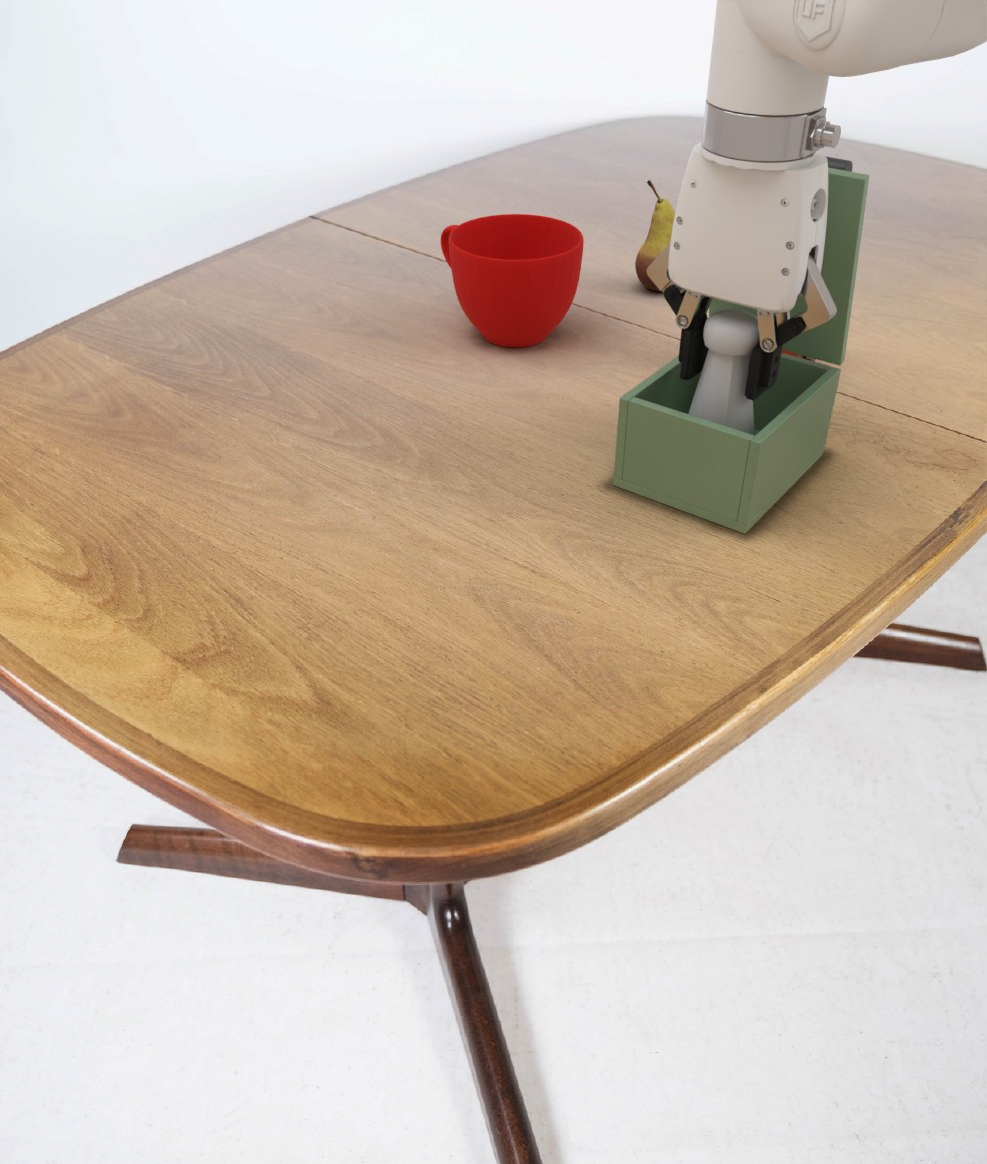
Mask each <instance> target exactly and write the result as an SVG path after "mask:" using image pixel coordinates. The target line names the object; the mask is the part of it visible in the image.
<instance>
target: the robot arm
mask: <svg viewBox="0 0 987 1164" xmlns="http://www.w3.org/2000/svg"><path fill="white" fill-rule="evenodd" d="M711 43H712V44H711V52H710V61H709V71H708V80H707V89H706V99H705V106H704V115H703V124H702V134H701V141H700V142H699V143H697V144H695V145H694V146H693V147H692V150H691V153H690V155H689V158H688V162H687V165H686V168H685V172H684V175H683V178H682V182H681V186H680V189H679V194H678V196H677V197H678V198H677V203H676V208H675V210H674V212H675V217H674V222H673V228H672V235H671V242H670V244H669V245H668V246H667V247H666V248H665V249H664V250H663V252H662V253H661V254H660V255H659V256H658V257H657V258H656V259H655V260H654V261H653V262H652V263H651V264H650V265H649V267H648V268H647V275H648V277H649V278H650V279H651V280H652V281H653V283H654V284H655V285H656V286H657V287H658V289H659V290H660V291H659V292H662V293H663V298H664V299H665V302H666V303H667V305H669V307H670V308H671V310H672V312H673V313H674V315H675V324H676V325H677V327H678V328H679V329H680V330H681V331H680V341H679V349H678V355H679V357H678V360H679V362H681V363H682V364H681V372H680V378H681V379H684V380H689V379H692V378H693V377H694V376H696V375H697V374H698V373H699V372H701V371H702V369H703V366H704V363H705V360H706V356H707V353H708V350H709V348H708V347H706V346H705V342H704V338H703V331H704V326H705V322H706V320H707V319H708V318H709V317H708V314H707V313H708V312H709V306H710V304H711V301H712V299H713V298H715V299H719V300H722V301H726V302H730V303H734V304H738V305H742V306H746V307H750V308H754V309H757V319H758V329H759V345H758V346H757V347H756V348H754V349H753V350H752V352H751V357H750V363H749V370H748V376H747V383H746V389H745V396H746V398H747V399H749V400H753V401H754V400H755V399H756V398H758V397H759V396H760V395H761V394H762V393H763V392H765V391H766V390H767V389H768V388H769V389H770V388H771V387H772V386H773V385H774V384H775V382H776V380H777V376H778V370H779V365H780V359H781V353H782V347H783V344H785V343H786V342H788V341H789V340H791V339H793V338H794V337H796V336H798V335H799V334H800V333H802V332H804V331H807V330H810V329H812V328H814V327H817V326H819V325H821V324H824V323H826V322H827V321H829V320H830V319H831V318H832V317H834V316H835V315H836V313H837V308H836V305H835V303H834V301H833V299H832V297H831V295H830V293H829V291H828V289H827V287H826V284H825V282H824V280H823V278H822V276H821V269H822V262H823V254H824V245H825V236H826V225H827V210H828V160H827V158H826V157H825V156H826V155H824V154H823V155H822V154H818V153H817V152H818V151H820V149H824V148H825V147H826V148H831V149H835V148H836V147H837V146H838V144H839V143H840V138H841V135H842V134H841V133H842V127H841V126H840V125H838V124H833V123H832V124H831V122H830V121H827V116H826V115H827V110H828V109H827V107H825V102H826V98H827V97H826V96H827V92H828V84H829V81H830V80H829V79H830V77H835V78H848V77H849V78H850V77H857V76H858V77H859V76H863V75H868V74H873V73H878V72H885V71H889V70H893V69H896V68H899V67H903V66H908V65H913V64H914V65H915V64H919V63H926V62H930V61H936V60H937V61H938V60H941V59H947V58H951V57H955V56H958V55H961V54H964V53H966V52H968V51H971V50H973V49H975V48H977V47H979V46H981V45H983V44H985V43H987V0H716V8H715V18H714V25H713V35H712V42H711ZM797 296H799V297H801V296H803V297H804V299H805V301H806V303H807V306H808V309H807V310H806V311H803V312H800V313H798V314H796V315H795V316H793V317H792V318H790V310H792V309H793V307H794V306H795V303H796V300H797Z"/></svg>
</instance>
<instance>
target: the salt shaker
mask: <svg viewBox="0 0 987 1164" xmlns="http://www.w3.org/2000/svg"><path fill="white" fill-rule="evenodd" d="M707 318H708V319H707V320H706V322H705V326H704V331H703V338H704V342H705V346H706V347H708V348H709V350H708V353H707V356H706V360H705V363H704V366H703V369H702V372H701V375H700V379H699V382H698V385H697V388H696V391H695V394H694V398H693V401H692V404H691V407H690V410H689V413H688V414H689V415H692V416H695V417H698V418H701V419H705V420H708V421H711V422H714V423H717V424H720V425H723V426H726V427H730V428H733V429H736V430H739V431H742V432H745V433H748V434H751V435H754V436H755V430H754V413H753V400H749V399H747V398H746V396H745V389H746V383H747V376H748V370H749V363H750V357H751V352H752V350H753V349H754V348H756V347H757V346H758V345H759V329H758V319H757V316H755V315H754V314H752V313H750V312H747V311H743V310H735V309H728V310H720V311H717V312H715V313H714V314H712V315H711V316H710V317H709V316H708V317H707Z"/></svg>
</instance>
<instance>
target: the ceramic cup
mask: <svg viewBox="0 0 987 1164" xmlns="http://www.w3.org/2000/svg"><path fill="white" fill-rule="evenodd" d="M584 242H585V241H584V236H583V233H582V231H581V230H580V229H579V228H578V227H576V226H575V225H573V224H571V223H570V222H567V221H564V220H561V219H558V218H555V217H550V216H545V215H544V216H543V215H538V214H529V213H528V214H527V213H525V214H524V213H506V214H505V213H504V214H495V215H494V214H493V215H488V216H482V217H477V218H474V219H469V220H467V221H465V222H462V223H460V224H450V225H448V226H446V227H445V228H444V229H443V230H442V232H441V234H440V249H441V252H442V254H443V257H444V259H445V262H446V263H447V265H448V267H449V268H450V270H451V277H452V281H453V287H454V290H455V294H456V298H457V300H458V303H459V305H460V307H461V309H462V311H463V313H464V314H465V316H466V318H467V319H468V321H469V322H470V323H471V324H472V326H473V327H474V328H475V329H476V330H477V331H478V332H479V333H480V334H481V335H482V337H483V339H485V340H486V341H487V342H489V343H491V344H493V345H496V346H501V347H505V348H506V347H507V348H526V347H531V346H535V345H539V344H541V343H543V342H544V341H545V340H546V339H547V338H548V336H549V335H550V334H551V333H552V332H553V331H554V330H555V329H556V328H558V326H559V325H560V323H562V321H563V319H564V318H565V317H566V315H567V314H568V312H569V310H570V309H571V306H572V304H573V302H574V299H575V297H576V294H577V290H578V288H579V287H578V286H579V282H580V276H581V269H582V262H583V255H584Z"/></svg>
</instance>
